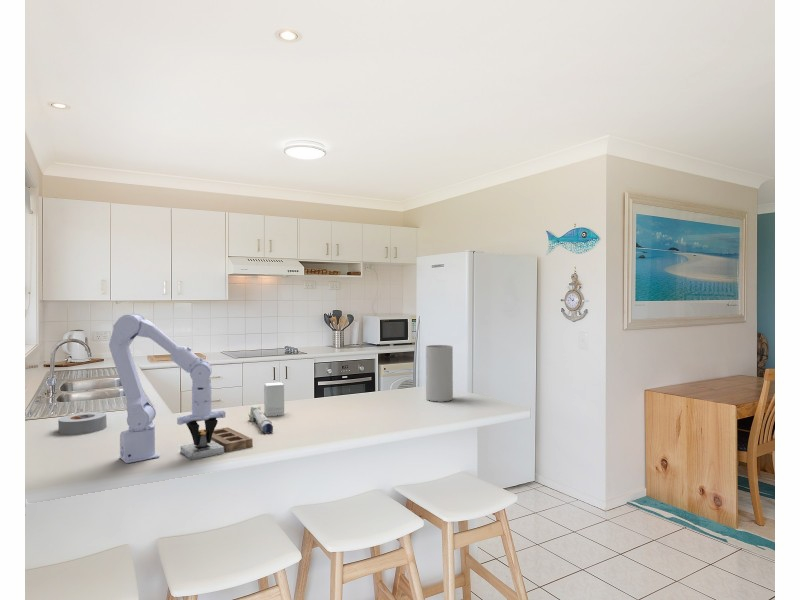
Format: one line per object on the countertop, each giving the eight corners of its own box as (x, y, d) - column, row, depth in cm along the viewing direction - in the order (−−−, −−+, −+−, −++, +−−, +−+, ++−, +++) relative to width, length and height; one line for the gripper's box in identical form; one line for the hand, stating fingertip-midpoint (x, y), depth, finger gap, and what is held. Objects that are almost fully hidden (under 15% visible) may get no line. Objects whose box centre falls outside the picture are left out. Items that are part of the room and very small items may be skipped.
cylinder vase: (439, 403, 240) (439, 348, 239) (420, 399, 249) (420, 346, 249) (458, 399, 248) (458, 346, 248) (438, 395, 257) (438, 344, 257)
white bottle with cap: (260, 424, 189) (247, 401, 211) (260, 441, 189) (247, 417, 212) (275, 422, 191) (260, 400, 213) (274, 440, 192) (260, 416, 214)
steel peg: (199, 455, 165) (198, 432, 165) (195, 452, 167) (195, 430, 167) (209, 453, 167) (209, 430, 167) (205, 450, 169) (205, 428, 169)
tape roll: (50, 436, 188) (50, 422, 188) (68, 426, 203) (68, 412, 203) (98, 434, 191) (97, 420, 191) (112, 424, 206) (112, 410, 206)
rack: (225, 451, 168) (225, 443, 168) (202, 438, 183) (202, 431, 183) (252, 446, 174) (252, 438, 174) (227, 434, 189) (227, 427, 189)
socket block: (191, 459, 160) (191, 453, 160) (180, 452, 167) (180, 446, 167) (224, 453, 166) (224, 446, 166) (211, 446, 174) (211, 440, 174)
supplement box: (284, 415, 218) (284, 384, 218) (266, 416, 216) (266, 385, 215) (281, 411, 225) (281, 381, 225) (263, 413, 222) (263, 383, 222)
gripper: (182, 405, 159) (182, 451, 159) (229, 399, 168) (229, 441, 169) (174, 402, 164) (175, 445, 164) (220, 396, 174) (220, 437, 174)
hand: (202, 443), depth 167 cm, fingers closed on steel peg, 3 cm apart
